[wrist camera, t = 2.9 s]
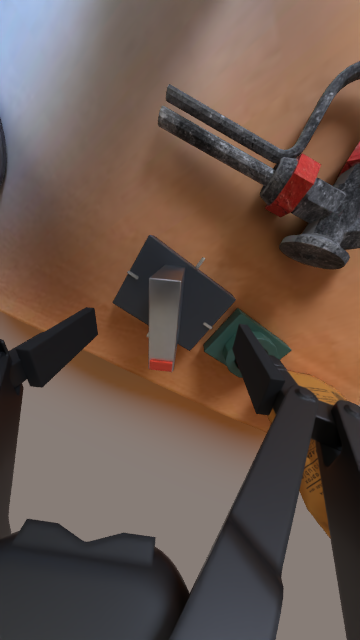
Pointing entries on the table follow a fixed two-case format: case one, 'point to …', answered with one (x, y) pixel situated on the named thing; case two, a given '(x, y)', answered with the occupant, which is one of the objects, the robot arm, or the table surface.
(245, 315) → the drain button box
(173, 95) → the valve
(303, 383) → the coffee package
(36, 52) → the table surface
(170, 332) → the tap lever
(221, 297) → the base
